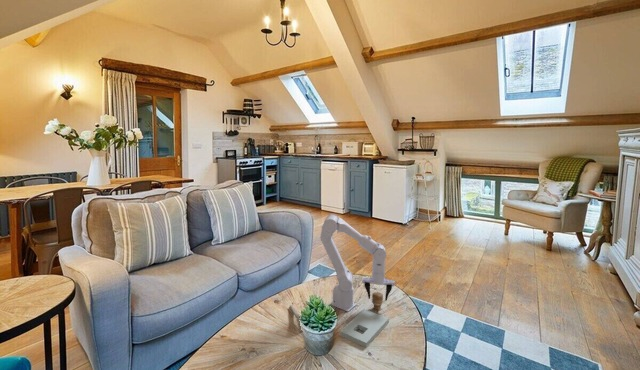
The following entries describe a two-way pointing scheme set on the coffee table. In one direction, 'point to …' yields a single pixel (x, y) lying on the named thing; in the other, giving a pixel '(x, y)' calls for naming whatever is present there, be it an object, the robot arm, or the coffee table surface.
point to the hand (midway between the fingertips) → (377, 298)
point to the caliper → (296, 316)
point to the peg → (377, 300)
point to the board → (364, 327)
